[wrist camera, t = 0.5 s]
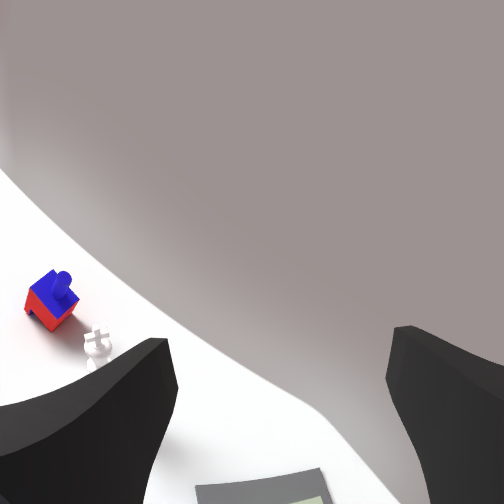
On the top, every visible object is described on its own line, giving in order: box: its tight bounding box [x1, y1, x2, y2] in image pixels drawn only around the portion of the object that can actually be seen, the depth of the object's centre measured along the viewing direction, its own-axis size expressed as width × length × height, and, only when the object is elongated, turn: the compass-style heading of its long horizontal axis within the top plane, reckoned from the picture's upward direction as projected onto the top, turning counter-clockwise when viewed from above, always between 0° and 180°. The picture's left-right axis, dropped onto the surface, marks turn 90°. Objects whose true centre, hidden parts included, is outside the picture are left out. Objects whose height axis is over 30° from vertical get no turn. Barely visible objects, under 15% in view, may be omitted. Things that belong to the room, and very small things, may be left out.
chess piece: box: [84, 324, 112, 373], centre depth 20 cm, size 5×5×10 cm
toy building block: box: [24, 269, 80, 332], centre depth 25 cm, size 4×4×8 cm
